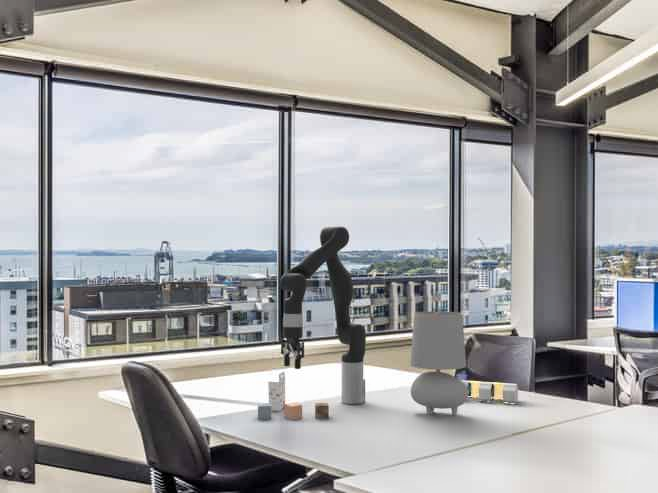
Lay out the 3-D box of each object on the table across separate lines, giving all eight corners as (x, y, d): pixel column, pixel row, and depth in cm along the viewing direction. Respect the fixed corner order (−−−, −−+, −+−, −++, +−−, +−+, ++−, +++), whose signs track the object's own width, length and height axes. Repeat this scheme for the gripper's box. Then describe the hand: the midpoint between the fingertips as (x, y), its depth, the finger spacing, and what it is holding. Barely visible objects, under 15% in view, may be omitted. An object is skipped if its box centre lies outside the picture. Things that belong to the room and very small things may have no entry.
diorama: (455, 401, 311) (455, 370, 311) (460, 396, 320) (459, 367, 320) (514, 405, 301) (514, 374, 302) (518, 400, 311) (517, 370, 311)
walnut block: (327, 415, 281) (327, 402, 282) (328, 418, 276) (328, 405, 277) (315, 415, 281) (315, 403, 281) (315, 418, 276) (315, 405, 276)
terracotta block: (295, 415, 282) (295, 402, 282) (302, 418, 278) (302, 404, 278) (284, 417, 279) (284, 404, 279) (290, 419, 275) (290, 406, 275)
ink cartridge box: (273, 406, 299) (273, 370, 299) (285, 406, 298) (285, 370, 298) (267, 410, 290) (267, 373, 290) (279, 411, 289) (279, 374, 289)
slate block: (271, 416, 281) (271, 403, 281) (271, 419, 276) (271, 406, 276) (258, 416, 280) (258, 403, 280) (257, 419, 275) (257, 406, 275)
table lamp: (475, 411, 289) (474, 310, 289) (461, 422, 269) (461, 315, 270) (419, 406, 298) (419, 309, 299) (402, 417, 279) (402, 312, 279)
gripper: (310, 326, 275) (309, 369, 275) (292, 323, 287) (291, 364, 287) (293, 327, 271) (292, 370, 271) (275, 324, 283) (274, 365, 283)
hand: (292, 367), depth 279 cm, fingers open, 8 cm apart
